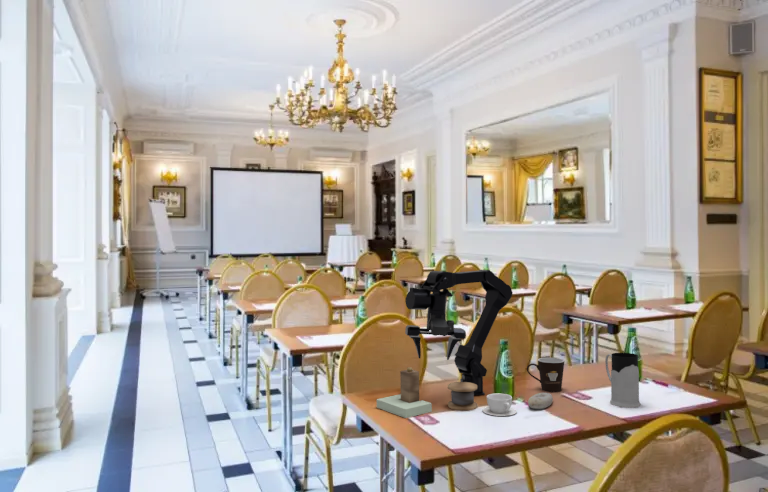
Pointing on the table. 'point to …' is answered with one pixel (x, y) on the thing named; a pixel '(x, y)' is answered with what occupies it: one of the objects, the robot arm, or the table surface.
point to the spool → (462, 396)
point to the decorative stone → (540, 401)
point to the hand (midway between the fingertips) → (433, 359)
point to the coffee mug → (550, 373)
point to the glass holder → (624, 380)
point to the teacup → (499, 405)
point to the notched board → (403, 406)
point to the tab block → (409, 385)
